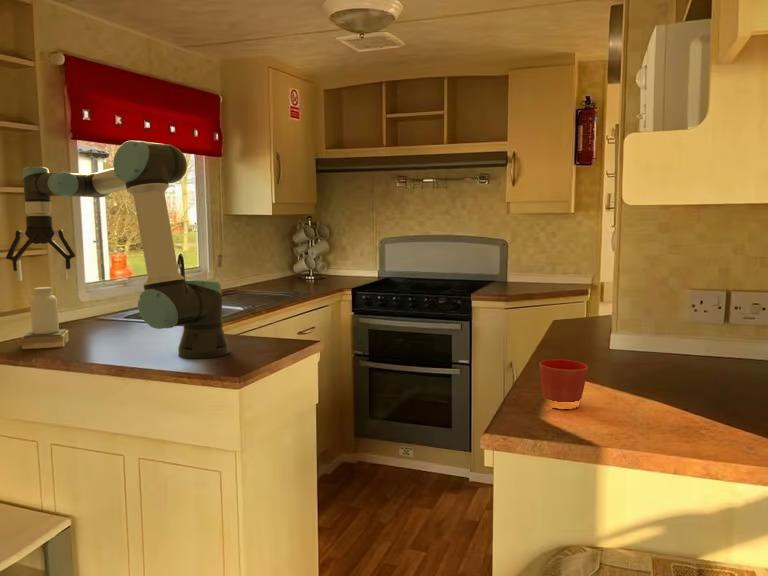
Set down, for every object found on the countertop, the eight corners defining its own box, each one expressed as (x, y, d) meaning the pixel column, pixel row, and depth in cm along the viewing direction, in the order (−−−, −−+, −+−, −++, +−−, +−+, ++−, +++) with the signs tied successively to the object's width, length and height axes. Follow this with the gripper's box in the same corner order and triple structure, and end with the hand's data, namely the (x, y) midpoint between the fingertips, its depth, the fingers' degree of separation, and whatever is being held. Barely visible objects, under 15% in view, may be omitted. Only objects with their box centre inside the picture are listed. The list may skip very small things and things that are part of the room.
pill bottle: (28, 332, 216) (25, 287, 215) (53, 329, 222) (51, 285, 220) (37, 335, 211) (34, 289, 209) (63, 332, 217) (60, 287, 215)
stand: (63, 346, 213) (62, 334, 213) (22, 349, 210) (21, 336, 209) (68, 340, 225) (68, 328, 224) (30, 342, 221) (29, 330, 221)
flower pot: (576, 398, 155) (578, 358, 154) (593, 412, 144) (594, 369, 143) (532, 398, 155) (533, 358, 153) (545, 413, 144) (547, 369, 143)
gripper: (82, 214, 220) (85, 277, 222) (-2, 215, 212) (3, 280, 214) (79, 214, 212) (83, 279, 215) (-8, 215, 205) (-3, 282, 207)
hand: (43, 280), depth 215 cm, fingers open, 13 cm apart
